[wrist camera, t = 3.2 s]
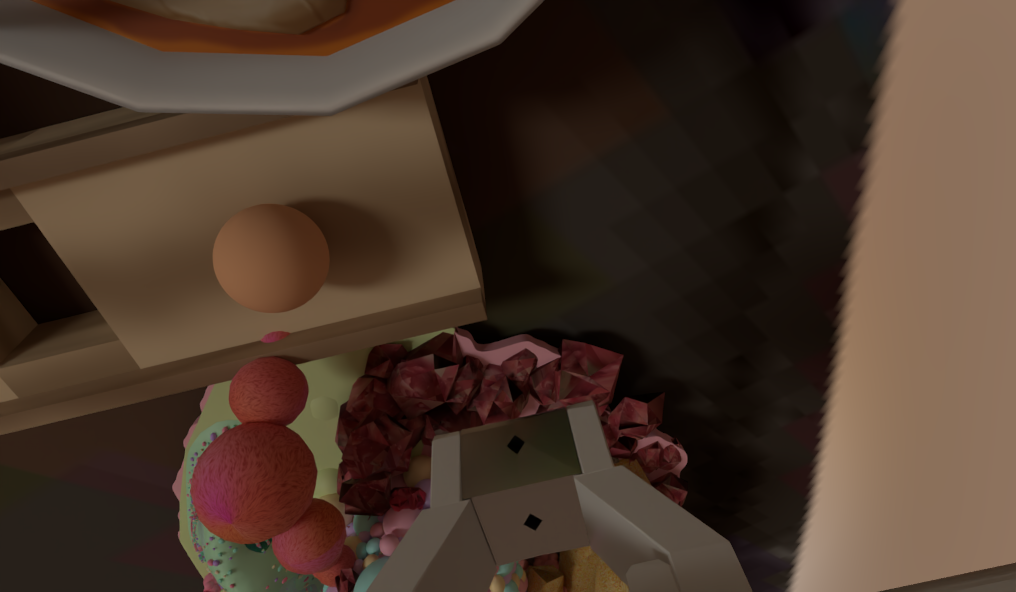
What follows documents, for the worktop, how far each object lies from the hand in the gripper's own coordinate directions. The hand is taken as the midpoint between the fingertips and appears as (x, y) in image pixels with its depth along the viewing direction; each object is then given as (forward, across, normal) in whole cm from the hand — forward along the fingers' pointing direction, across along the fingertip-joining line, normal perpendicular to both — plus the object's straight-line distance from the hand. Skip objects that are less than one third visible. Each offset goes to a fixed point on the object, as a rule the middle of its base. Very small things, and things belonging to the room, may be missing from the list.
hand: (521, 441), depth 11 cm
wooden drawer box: (+14, +12, 0) cm, 19 cm away
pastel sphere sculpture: (+13, +6, +17) cm, 22 cm away
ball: (+10, +7, 0) cm, 12 cm away
